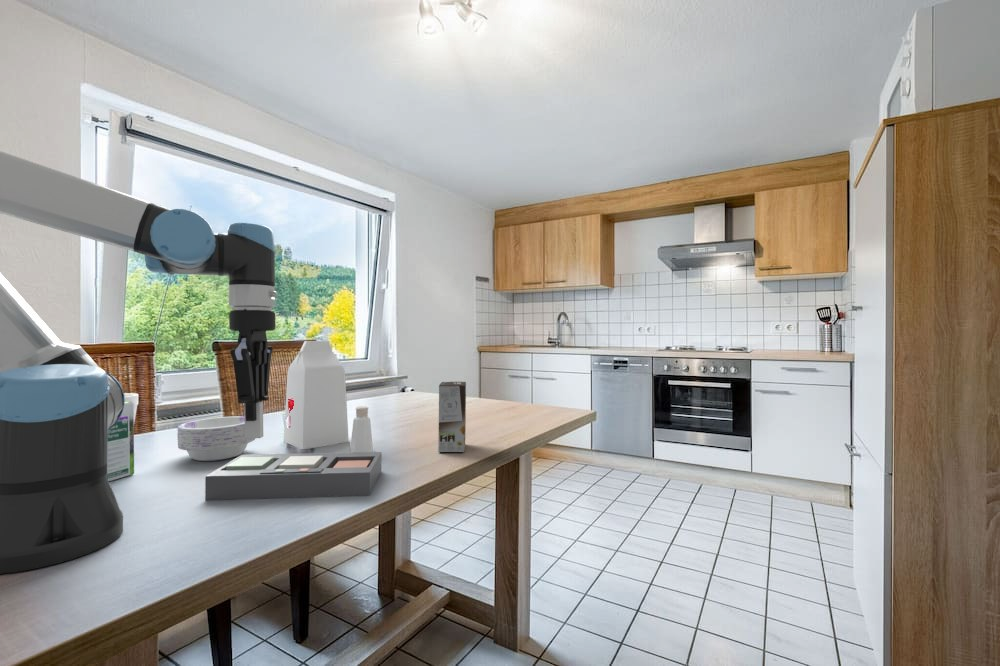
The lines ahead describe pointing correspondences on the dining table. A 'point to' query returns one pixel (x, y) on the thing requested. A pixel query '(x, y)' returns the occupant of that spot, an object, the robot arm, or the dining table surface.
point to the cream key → (301, 462)
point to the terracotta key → (353, 464)
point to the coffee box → (452, 416)
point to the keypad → (295, 478)
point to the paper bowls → (213, 438)
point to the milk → (316, 398)
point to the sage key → (251, 463)
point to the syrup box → (121, 445)
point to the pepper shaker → (361, 432)
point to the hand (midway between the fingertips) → (254, 437)
